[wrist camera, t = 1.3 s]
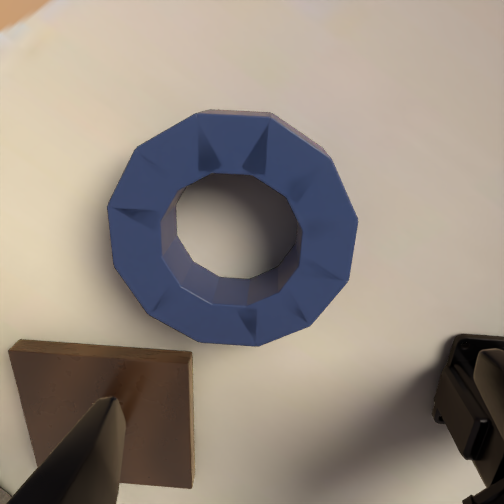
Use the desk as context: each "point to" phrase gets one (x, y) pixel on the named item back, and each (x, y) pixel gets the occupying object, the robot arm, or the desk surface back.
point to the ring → (202, 280)
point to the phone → (4, 496)
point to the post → (128, 394)
